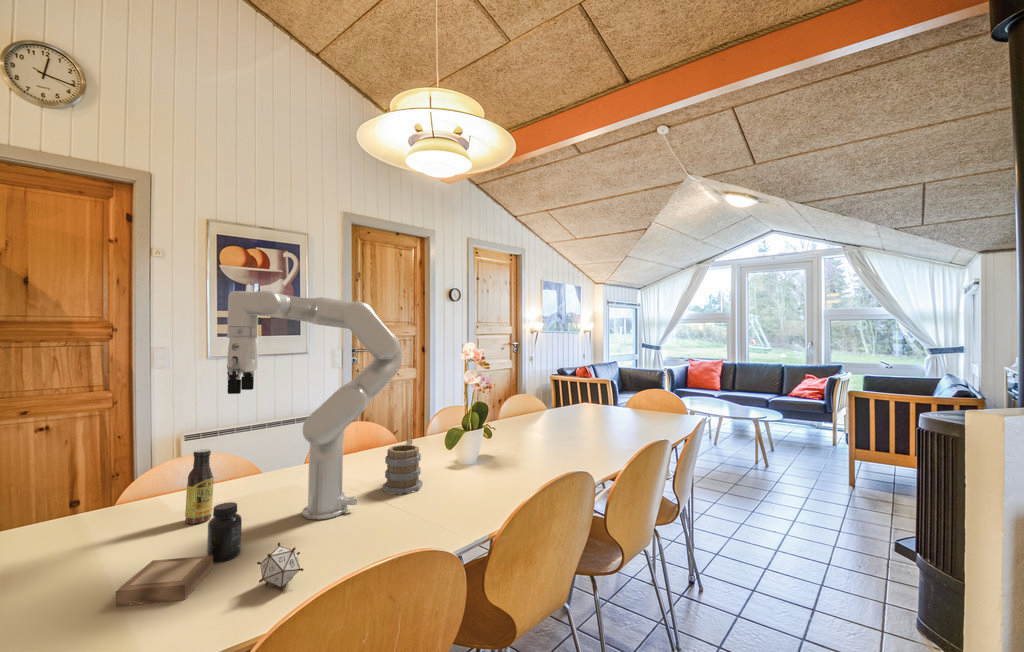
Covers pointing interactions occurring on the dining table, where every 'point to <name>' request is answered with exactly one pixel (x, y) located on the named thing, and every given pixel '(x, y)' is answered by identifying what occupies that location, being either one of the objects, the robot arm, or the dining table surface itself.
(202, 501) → the sauce bottle
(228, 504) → the supplement bottle
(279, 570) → the game die
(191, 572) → the walnut base
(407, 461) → the tankard
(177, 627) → the dining table surface
